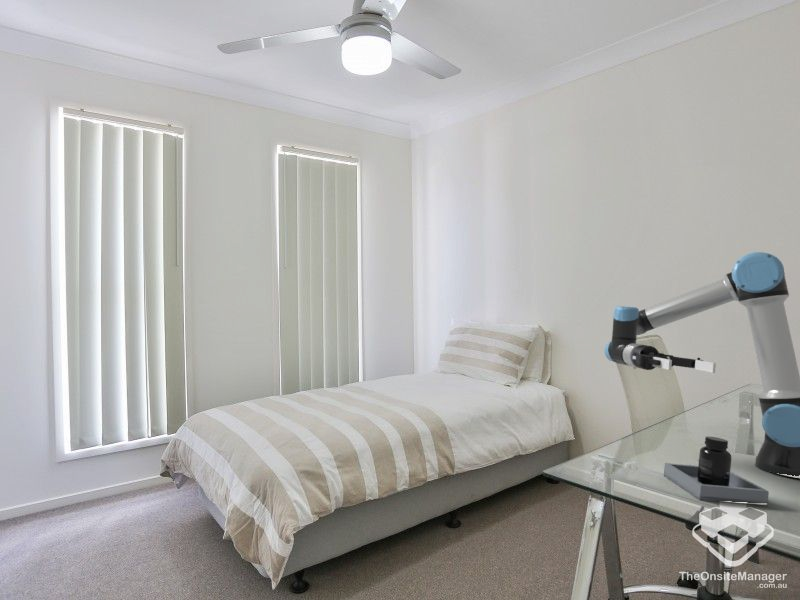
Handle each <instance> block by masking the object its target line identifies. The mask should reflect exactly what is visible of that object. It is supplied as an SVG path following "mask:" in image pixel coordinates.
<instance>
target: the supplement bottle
mask: <svg viewBox="0 0 800 600" xmlns="http://www.w3.org/2000/svg"><path fill="white" fill-rule="evenodd" d="M704 440H705V441H704V445H705V446H702V447H700V449H699V452H698V453H699V455H698V465H697V466H698V477H697V481H698V482H700V483H701V484H706V485H717V486H729V481H730V471H731V469H732V468H731V467H732V453H730V452H729V451H728V450H727V449H728V448H729V447H728V445H729V443H728V442H729V441H728V440H727V439H724V438H721V437H717V436H705V439H704Z"/></svg>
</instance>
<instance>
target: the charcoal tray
mask: <svg viewBox="0 0 800 600" xmlns="http://www.w3.org/2000/svg"><path fill="white" fill-rule="evenodd" d="M663 467H664V468H663V476H664V478H666V477H667V478H666V479H668V480H669V481H671V482H672V483H673V484H675V485H677V486H678V485H679V486H678V487H680V488H681V489H683V490H684V491H686V492H687V493H689V494H690V495H691V496H693V497H694V498H695V499H698V500H699V501H706V502H715V503H717V502H716V501H732V502H748V503H769V490H767V489H765V488H763V487H762V486H759V485H757V484H755V483H754V482H751V481H750V480H747V478H744V477H742V476H740V475H738V474H736V473H734V472H732V471H731V470H730V481H729V486H717V485H706V484H701V483H700V482H698V481H697V477H698V465H691V464H681V463H668V462H664V466H663Z"/></svg>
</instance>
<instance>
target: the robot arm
mask: <svg viewBox="0 0 800 600" xmlns="http://www.w3.org/2000/svg"><path fill="white" fill-rule="evenodd" d="M789 297H790V294H789V289H788V285H787V280H786V275H785V268H784V264H783V263H782V261H781V260H780V259H779V258H778V257H777V256H776V255H773V254H771V253H768V252H764V251H763V252H762V251H761V252H760V251H758V252H757V251H754V252H751V253H747V254H745V255H742V256H741V257H740V258H739V259H738V260H737V261H736V262H735V263H734V265H733V268H732V271H731V272H729V273H726V274H724V277H723V278H722V279H719V280H716V281H715V282H712V283H709V284H706V285H704V286H701V287H699V288H695V289H693V290H690V291H687V292H686V293H683V294H680V295H678V296H676V297H673V298H670V299H667V300H665V301H663V302H659V303H657V304H654V305H652V306H649V307H647V308H644V309H641V310H639V308H638V307H636V306H635V307H634V306H625V305H624V306H623V305H622V306H621V305H620V306H619V305H617V306H615V307H614V311H613V316H612V318H613V320H612V322H613V323H612V332H611V333H612V334H611V340H610V341H608V342H607V344H606V346H605V347H604V355H605V357H606V359H607V360H609V361H611V362H613V363H615V364H620V365H623V366H628V367H632V368H633V369H634V370H635V369H642V370H645V371H652V370H654V369H655V368H658V369H659V368H660V369H662V370H663V369H664V370H668V371H672V367H680V368H681V367H682V368H690V369H694V370H696V371H703V372H708V373H713V374H715V373H716V368H717V367H716V366H717V363H716V362H712V361H705V360H703V359H701V358H700V357H697V359H695V358H687V357H680V356H674V355H672V354H671V355H670V354H665V353H663V352H660V351H658V349H657V348H656V347H655V346H652V345H646V344H641V343H637V338H638V336H639V335H644V334H646V333H647V332H649V331H652V330H654V329H657V328H659V327H663V326H666V325H668V324H671V323H674V322H677V321H680V320H682V319H685V318H688V317H691V316H694V315H697V314H699V313H702V312H705V311H708V310H710V309H714V308H716V307H720V306H723V305H725V304H727V303H730V302H731V303H732V302H733V301H737V302H738V303H739V304H741V305H743V307H745V308H746V310H747V315H748V321H749V325H750V329H751V334H752V340H753V344H754V345H753V346H754V348H755V354H756V359H757V363H758V364H757V365H758V368H759V374H760V378H761V382H762V387H763V391H762V392H761V393H760V394H759V395H758V400H759V405H760V410H761V414H762V418H761V419H762V420H761V426H762V430H763V431H764V439H763V443H762V444H761V446H760V449H759V451H758V453H757V455H756V456H755V461H754V463H755V464H754V465H755V466H756V467H757V468H758V469H761V470H763V471H765V470H767V471H766V472H768V471H771V472H774V473H779V474H787V475H792V476H794V475H795V476H799V475H800V372H799V367H798V363H797V358H796V353H795V349H794V344H793V340H792V335H791V330H790V326H789V321H788V316H787V313H786V307H785V301H786V300H787V299H788V298H789ZM774 473H773V474H774Z"/></svg>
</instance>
